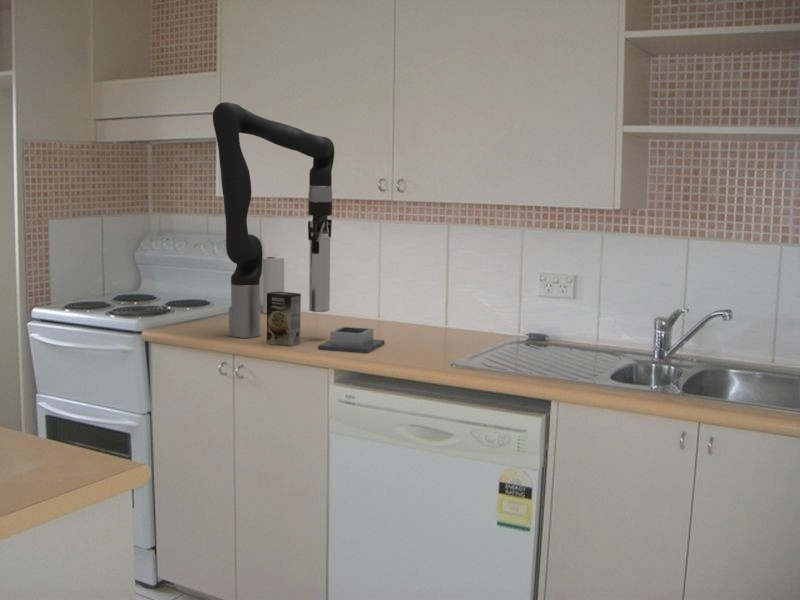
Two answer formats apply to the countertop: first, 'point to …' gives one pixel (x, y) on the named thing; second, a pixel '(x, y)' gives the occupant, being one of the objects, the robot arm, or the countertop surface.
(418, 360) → the countertop surface
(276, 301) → the coffee box
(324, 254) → the silver metal cylinder
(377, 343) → the board
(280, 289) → the paper towel roll
